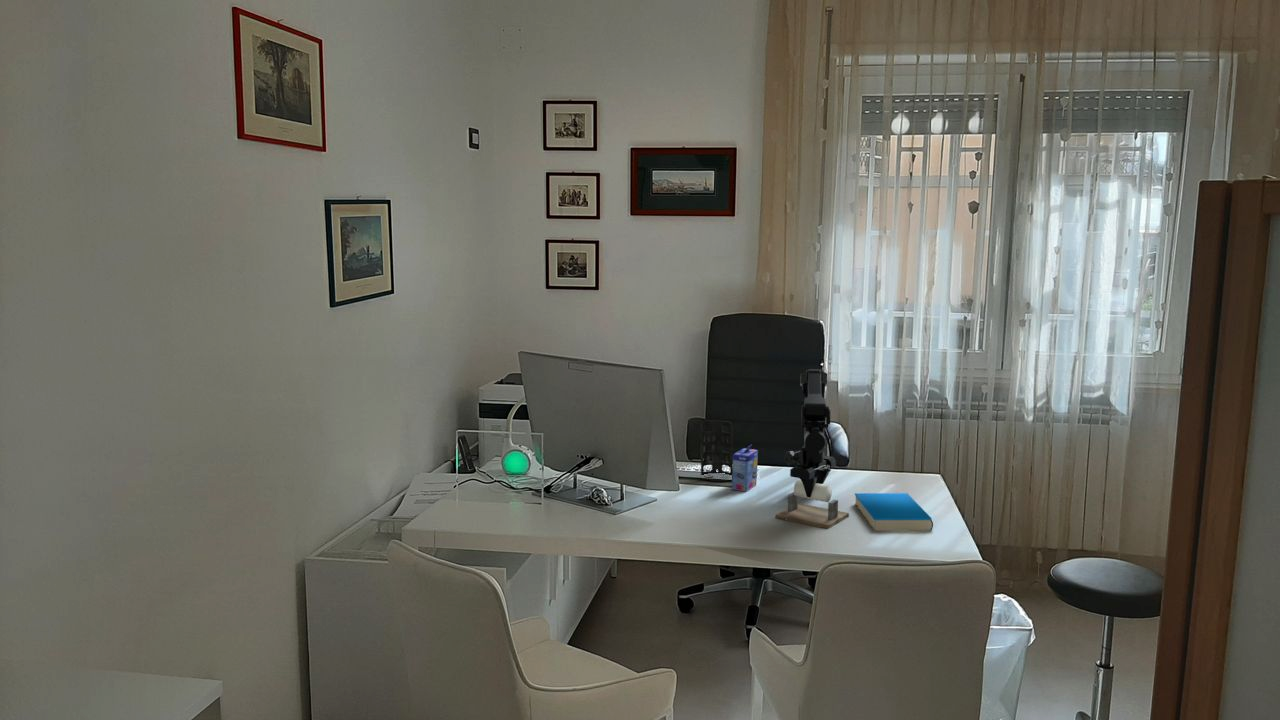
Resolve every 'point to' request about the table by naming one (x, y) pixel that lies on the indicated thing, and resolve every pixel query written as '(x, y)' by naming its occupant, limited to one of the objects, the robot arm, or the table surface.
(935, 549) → the table surface
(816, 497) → the cylinder
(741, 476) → the blue purple upright box
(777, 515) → the roll holder
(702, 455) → the holder
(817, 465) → the robot arm
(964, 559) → the table surface
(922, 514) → the book
